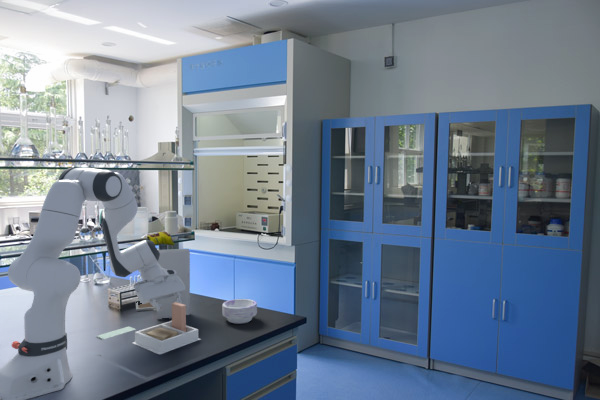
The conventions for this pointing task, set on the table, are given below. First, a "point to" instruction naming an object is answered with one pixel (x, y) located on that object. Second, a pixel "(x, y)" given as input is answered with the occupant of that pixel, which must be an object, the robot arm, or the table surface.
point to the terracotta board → (179, 316)
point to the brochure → (181, 265)
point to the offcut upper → (161, 334)
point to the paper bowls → (239, 310)
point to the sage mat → (115, 332)
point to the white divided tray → (169, 343)
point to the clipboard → (145, 307)
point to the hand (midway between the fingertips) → (170, 306)
